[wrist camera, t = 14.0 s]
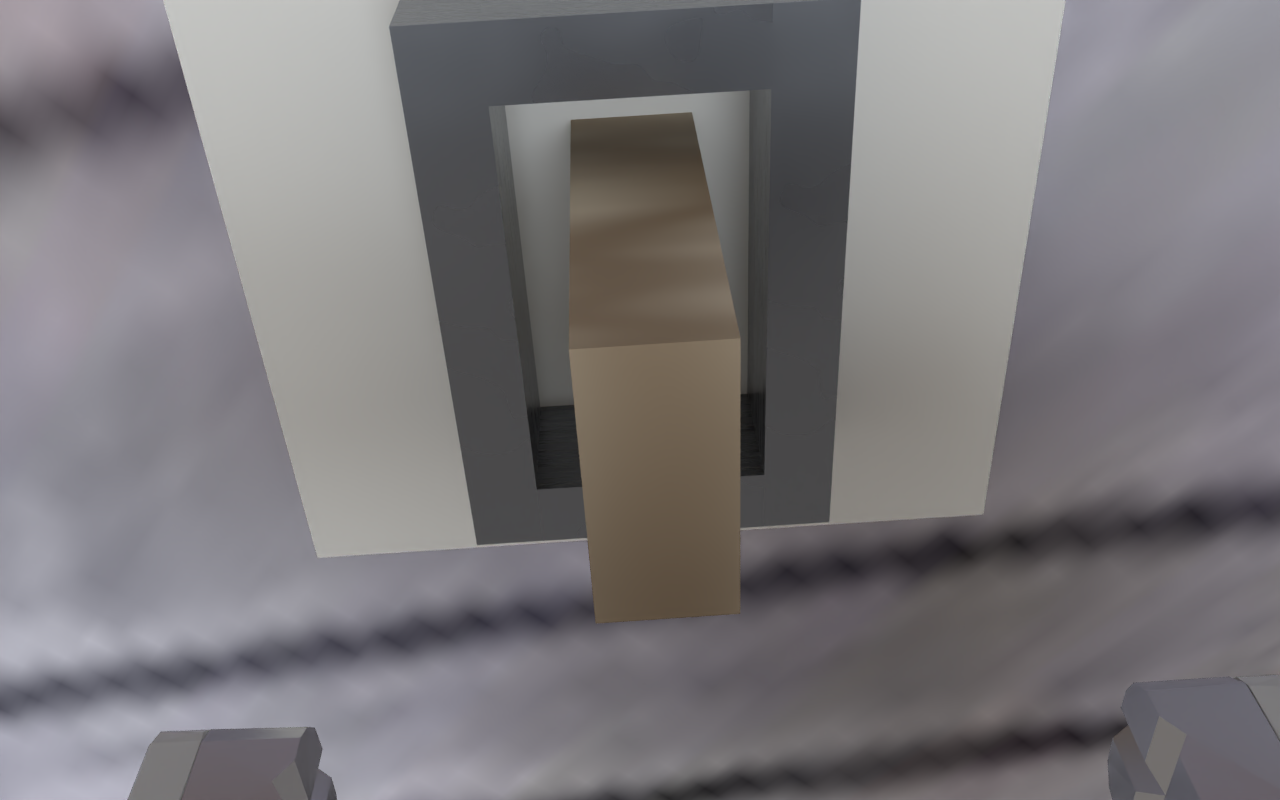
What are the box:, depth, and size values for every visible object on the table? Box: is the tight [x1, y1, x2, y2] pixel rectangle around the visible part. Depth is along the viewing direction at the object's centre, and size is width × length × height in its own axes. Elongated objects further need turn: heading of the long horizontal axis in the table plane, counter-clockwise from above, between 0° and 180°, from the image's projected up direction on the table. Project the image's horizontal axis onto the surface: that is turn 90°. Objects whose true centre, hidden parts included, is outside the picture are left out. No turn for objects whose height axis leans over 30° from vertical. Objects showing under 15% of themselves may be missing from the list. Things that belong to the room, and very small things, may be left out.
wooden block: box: [569, 112, 741, 623], centre depth 18 cm, size 2×4×7 cm, turn 3°
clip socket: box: [389, 0, 861, 545], centre depth 20 cm, size 6×9×2 cm
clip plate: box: [163, 0, 1066, 558], centre depth 21 cm, size 14×14×1 cm
